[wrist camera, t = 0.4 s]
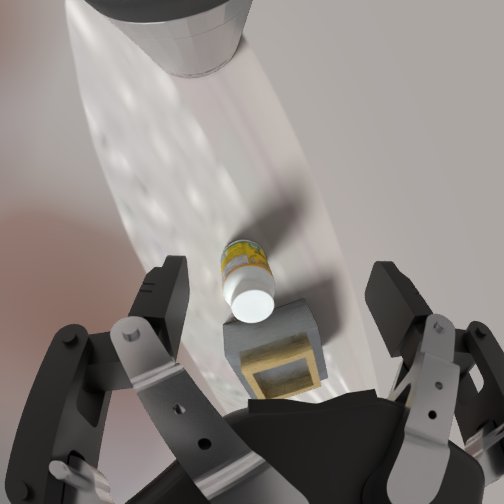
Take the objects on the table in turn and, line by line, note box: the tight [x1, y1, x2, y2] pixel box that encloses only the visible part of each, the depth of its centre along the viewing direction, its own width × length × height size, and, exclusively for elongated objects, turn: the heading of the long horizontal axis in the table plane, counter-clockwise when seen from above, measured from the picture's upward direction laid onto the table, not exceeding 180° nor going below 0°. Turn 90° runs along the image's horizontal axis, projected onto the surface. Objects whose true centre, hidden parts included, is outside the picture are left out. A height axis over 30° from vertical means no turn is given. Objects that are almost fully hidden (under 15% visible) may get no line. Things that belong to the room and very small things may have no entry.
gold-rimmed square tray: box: [223, 298, 328, 399], centre depth 37 cm, size 12×12×8 cm
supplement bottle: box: [221, 240, 276, 323], centre depth 30 cm, size 5×5×10 cm
